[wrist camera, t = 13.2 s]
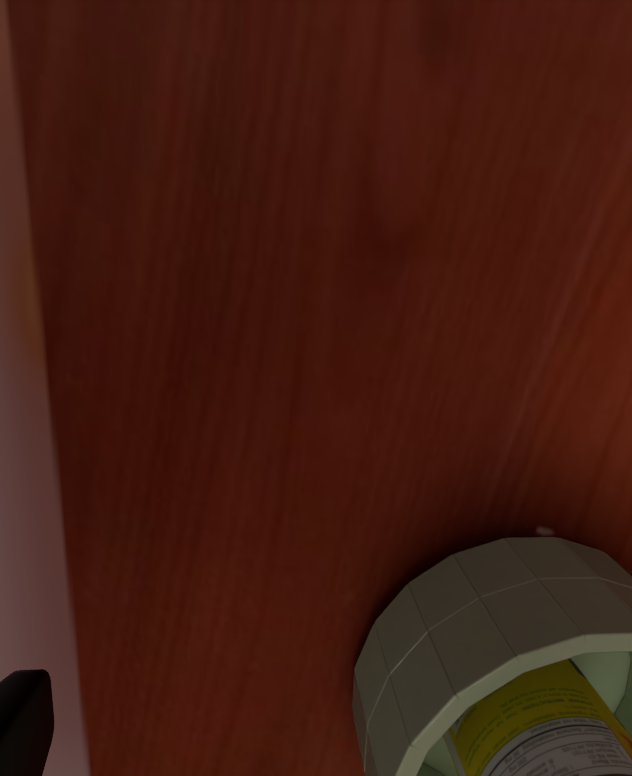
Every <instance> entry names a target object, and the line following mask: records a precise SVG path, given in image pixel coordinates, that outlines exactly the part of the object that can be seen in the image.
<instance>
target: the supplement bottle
mask: <svg viewBox="0 0 632 776" xmlns="http://www.w3.org/2000/svg"><path fill="white" fill-rule="evenodd" d="M443 737H444V739H445V742H446V745H447V748H448V750H449V753H450V756H451V759H452V761H453V764H454V766H455V769H456V772H457V775H458V776H632V737H631V736H630V735H629V733H628V732H627V731H626V729H625V728H624V727H623V725H622V724H621V723H620V721H619V720H618V719H617V718H616V716H615V715H614V714H613V713H612V711H611V710H610V709H609V707H608V706H607V705H606V703H605V702H604V700H603V699H602V698H601V697H600V695H599V694H598V693H597V691H596V690H595V689H594V687H593V686H592V685H591V684H590V682H589V681H588V680H587V678H586V677H585V676H584V674H583V673H582V671H581V670H580V669H579V668H578V666H577V665H576V664H575V663H574V661H573V660H572V659H571V658H568V659H565V660H562V661H559V662H555V663H552V664H549V665H546V666H543V667H540V668H536V669H533V670H530V671H527V672H524V673H522V674H521V675H519V676H517V677H516V678H514V679H513V680H511V681H509V682H508V683H506V684H505V685H503V686H501V687H500V688H498V689H497V690H495V691H494V692H492V693H490V694H489V695H487V696H486V697H484V698H482V699H481V700H479V701H478V702H476V703H475V704H473V705H471V706H470V707H468V708H467V709H466V710H465V712H464V713H463V714H462V715H461V716H460V717H459V718H458V719H457V720H456V721H455V722H454V724H453V725H452V726H451V727H450V728H449V729H448V730H447V731H446V732H445V733H444V734H443Z"/></svg>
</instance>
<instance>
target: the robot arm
mask: <svg viewBox="0 0 632 776" xmlns="http://www.w3.org/2000/svg"><path fill="white" fill-rule="evenodd" d="M53 731H54V713H53V702H52V690H51V680H50V676H49V673H48V672H47V671H46V670H43V669H40V670H19V671H15V672H13V673H12V674H10V675H9V676H7V677H6V678H5V679H3V680H2V681H1V682H0V776H42V774H43V770H44V767H45V763H46V760H47V756H48V752H49V749H50V745H51V742H52V737H53Z"/></svg>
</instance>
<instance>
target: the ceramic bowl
mask: <svg viewBox="0 0 632 776" xmlns="http://www.w3.org/2000/svg"><path fill="white" fill-rule="evenodd" d="M568 658H571V659H572V660H573V661H574V663H575V664H576V665H577V666H578V668H579V669H580V670H581V671H582V673H583V674H584V676H585V677H586V678H587V680H588V681H589V682H590V684H591V685H592V686H593V687H594V689H595V690H596V691H597V693H598V694H599V695H600V697H601V698H602V699H603V700H604V702H605V703H606V705H607V706H608V707H609V709H610V710H611V711H612V713H613V714H614V715H615V716H616V718H617V719H618V720H619V721H620V723H621V724H622V725H623V727H624V728H625V729H626V731H627V732H628V733H629V735H630V736H631V737H632V573H631V572H630V571H629V570H628V569H626V568H625V567H624V566H622V565H621V564H620V563H618V562H617V561H616V560H614V559H613V558H612V557H611V556H609V555H608V554H607V553H605V552H603V551H601V550H598V549H594V548H591V547H588V546H585V545H581V544H578V543H575V542H572V541H568V540H565V539H562V538H556V537H518V538H505V539H504V538H502V539H499V540H496V541H492V542H489V543H486V544H483V545H480V546H476V547H473V548H470V549H467V550H463V551H460V552H457V553H454V555H453V554H452V555H450V556H449V557H447V558H445V559H444V560H442V561H441V562H439V563H438V564H436V565H435V566H433V567H432V568H430V569H429V570H427V571H425V572H424V573H422V574H421V575H419V576H418V577H416V578H415V579H413V580H412V581H410V582H409V583H408V584H407V585H406V586H405V587H404V588H403V589H402V590H401V591H400V593H399V594H398V595H397V596H396V597H395V598H394V600H393V601H392V602H391V603H390V604H389V605H388V607H387V608H386V609H385V610H384V611H383V612H382V614H381V615H380V616H379V617H378V618H377V619H376V620H375V622H374V624H373V626H372V628H371V630H370V633H369V635H368V637H367V640H366V642H365V644H364V647H363V649H362V652H361V654H360V656H359V659H358V661H357V663H356V666H355V669H354V685H353V703H352V713H353V718H354V724H355V729H356V734H357V739H358V744H359V749H360V754H361V759H362V764H363V769H364V774H365V776H458V775H457V772H456V769H455V766H454V764H453V761H452V759H451V756H450V753H449V750H448V748H447V745H446V742H445V739H444V737H443V734H444V733H445V732H446V731H447V730H448V729H449V728H450V727H451V726H452V725H453V724H454V722H455V721H456V720H457V719H458V718H459V717H460V716H461V715H462V714H463V713H464V712H465V710H466V709H467V708H468V707H470V706H471V705H473V704H475V703H476V702H478V701H479V700H481V699H482V698H484V697H486V696H487V695H489V694H490V693H492V692H494V691H495V690H497V689H498V688H500V687H501V686H503V685H505V684H506V683H508V682H509V681H511V680H513V679H514V678H516V677H517V676H519V675H521V674H522V673H524V672H527V671H530V670H533V669H536V668H540V667H543V666H546V665H549V664H552V663H555V662H559V661H562V660H565V659H568Z"/></svg>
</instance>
